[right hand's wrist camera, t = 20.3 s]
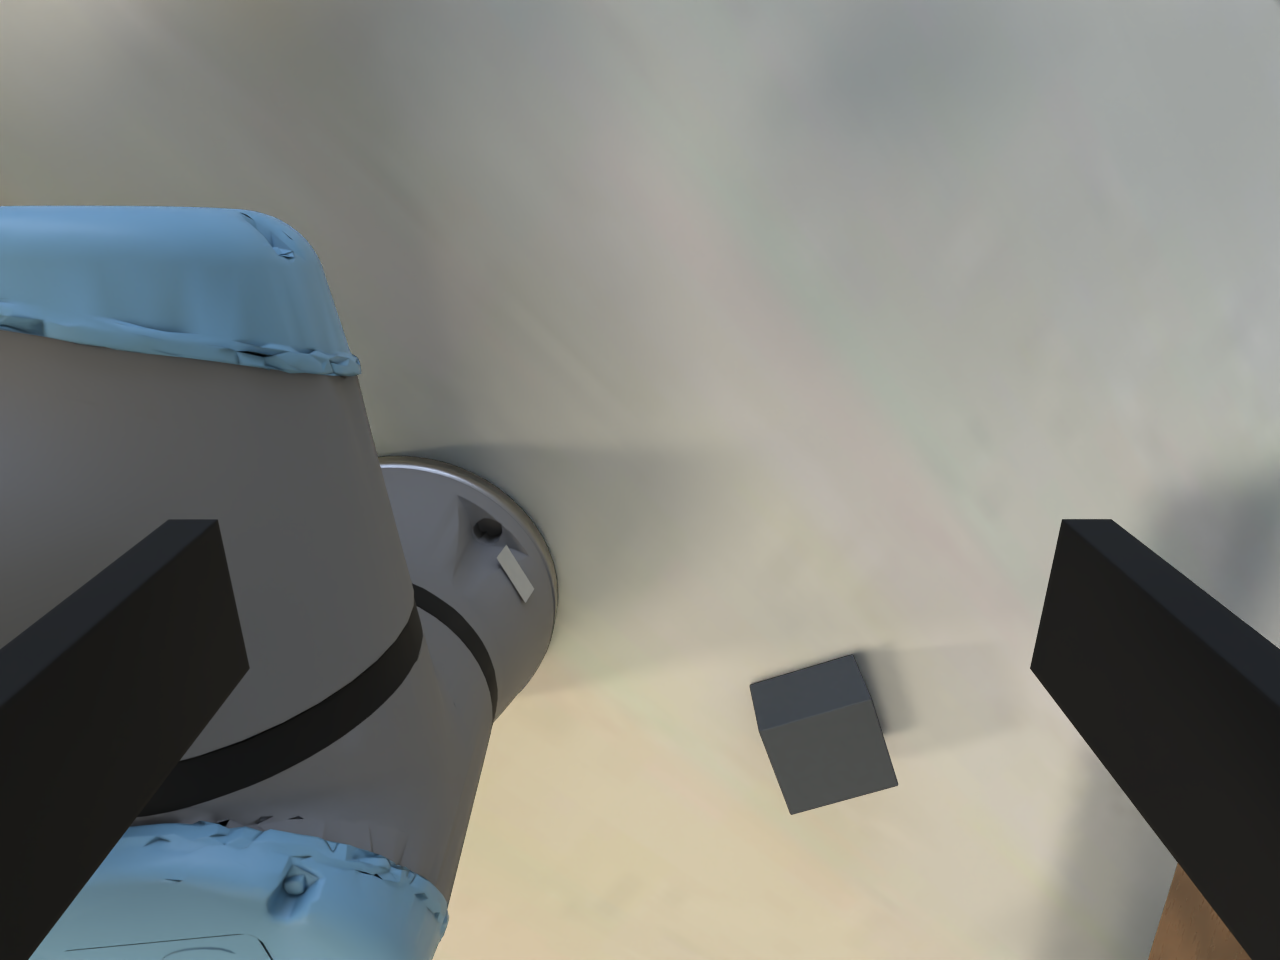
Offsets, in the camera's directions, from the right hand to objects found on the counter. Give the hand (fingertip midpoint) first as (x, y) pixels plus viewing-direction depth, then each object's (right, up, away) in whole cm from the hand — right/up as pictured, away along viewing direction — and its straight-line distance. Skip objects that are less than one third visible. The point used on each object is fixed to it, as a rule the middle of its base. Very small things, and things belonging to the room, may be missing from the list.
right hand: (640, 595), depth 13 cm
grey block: (+10, -11, +33) cm, 37 cm away
